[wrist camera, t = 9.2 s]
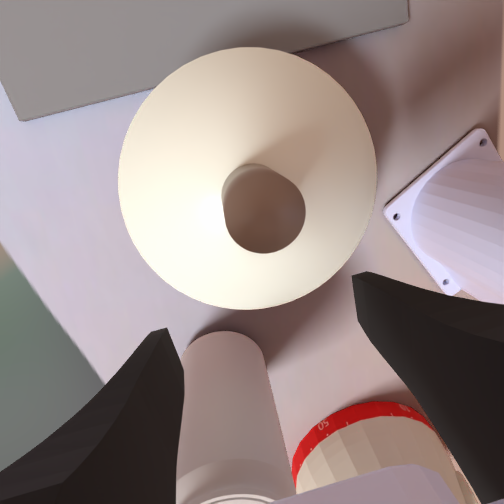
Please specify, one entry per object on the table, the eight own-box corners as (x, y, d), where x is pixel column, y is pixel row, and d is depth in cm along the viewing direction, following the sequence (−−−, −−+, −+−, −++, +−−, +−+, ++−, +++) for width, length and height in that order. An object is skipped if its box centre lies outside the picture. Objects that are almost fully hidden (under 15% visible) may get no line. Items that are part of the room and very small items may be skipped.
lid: (413, 196, 18) (479, 217, 14) (245, 341, 20) (255, 400, 16) (259, -21, 14) (283, -92, 10) (65, 189, 16) (9, 211, 12)
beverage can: (162, 353, 24) (122, 541, 13) (235, 310, 24) (258, 467, 13) (210, 405, 27) (210, 604, 15) (277, 367, 26) (328, 544, 15)
